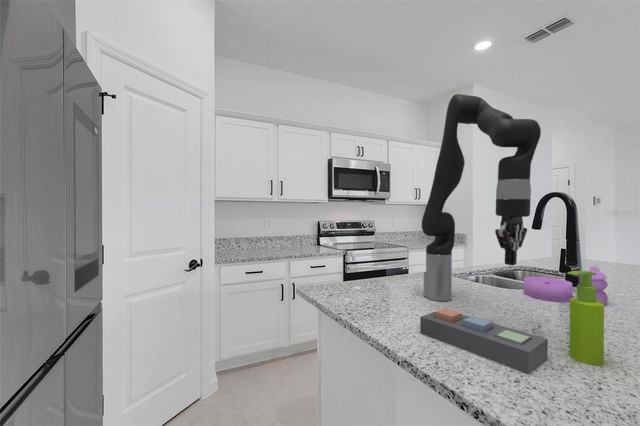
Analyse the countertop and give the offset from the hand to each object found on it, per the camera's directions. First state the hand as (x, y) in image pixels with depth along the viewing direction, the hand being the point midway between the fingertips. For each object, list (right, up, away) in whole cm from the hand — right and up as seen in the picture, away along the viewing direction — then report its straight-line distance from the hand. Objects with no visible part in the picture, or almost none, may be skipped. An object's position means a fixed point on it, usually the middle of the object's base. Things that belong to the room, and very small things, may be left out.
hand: (510, 264), depth 78 cm
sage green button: (-5, -18, -9) cm, 21 cm away
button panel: (-10, -20, -2) cm, 22 cm away
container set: (+44, -20, +38) cm, 62 cm away
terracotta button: (-14, -17, +4) cm, 22 cm away
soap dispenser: (+11, -20, -10) cm, 25 cm away
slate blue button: (-10, -17, -2) cm, 19 cm away
